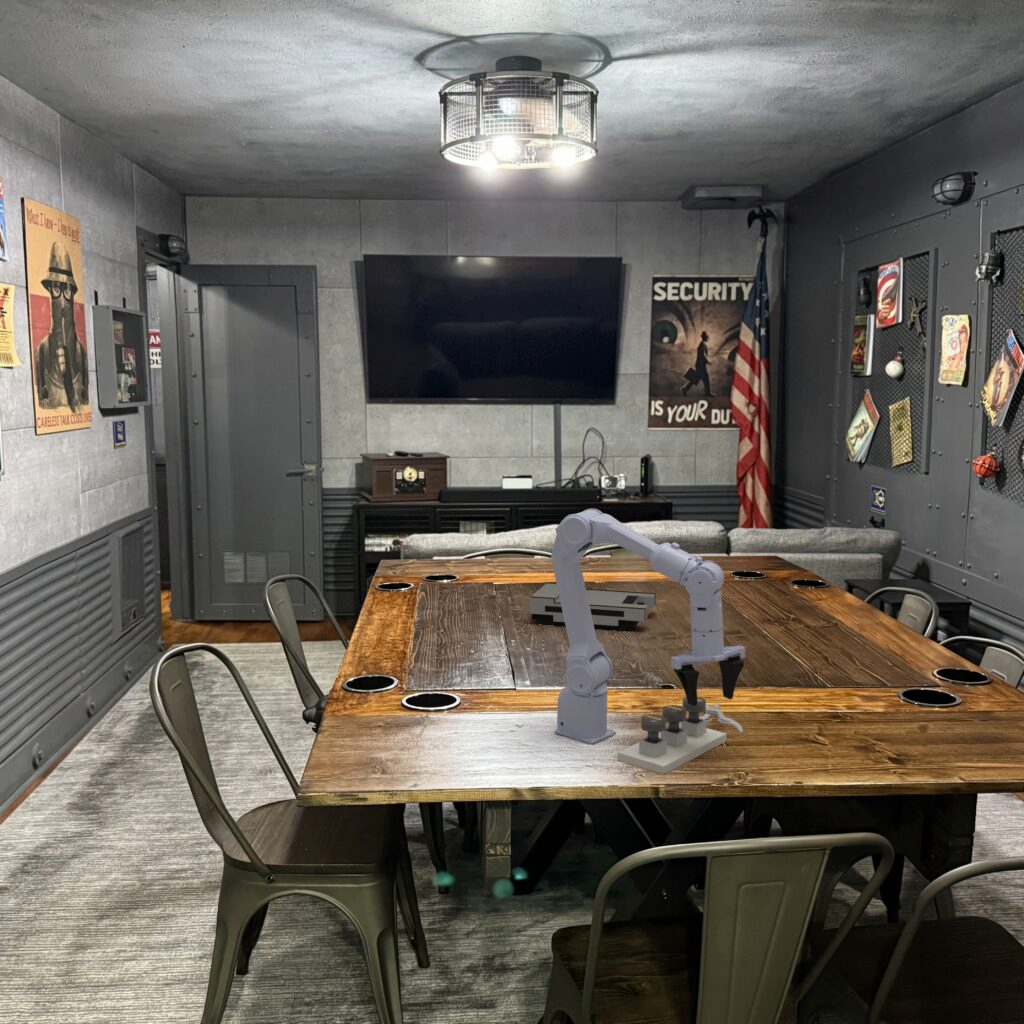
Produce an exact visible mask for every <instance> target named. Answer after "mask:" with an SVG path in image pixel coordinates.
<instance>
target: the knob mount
mask: <svg viewBox="0 0 1024 1024" xmlns="http://www.w3.org/2000/svg"><path fill="white" fill-rule="evenodd" d="M688 717H689V716H686V720H685V721H683V722H680V725H679V732H670V731H669V725H668V726H667V727H666V729H665V730H664V731H661V732H659V741H658V742H655V743H653V742H649V741H648V735H647V736H645V737H643V738H641V739H639V742H637V743H635V744H633V745H631V746H629V747H626V748H624V749H621V750H620V751H618V752H617V762H618V761H619V762H622V763H625V764H629V765H630V766H636V767H638V768H641V769H644V770H648V771H651V772H654V773H658V774H661V775H665V774H667V773H669V772H671V771H673V770H676V769H678V767H680V766H681V767H682V766H683V765H685V764H686V763H688V762H690V761H691V760H694V759H695V758H698V757H699V756H702V755H703V754H705V753H707V752H708V751H710V750H712V749H714V748H716V747H718V746H720V745H721V744H724V743H726V742H727V737H728V734H727V733H726V732H724V731H718V730H716V729H715V730H714V729H711V728H709V727H707V725H708V723H707V721H708V720H704V719H700V718H699V722H697V723H692V722H689V721H688Z"/></svg>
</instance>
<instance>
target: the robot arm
mask: <svg viewBox="0 0 1024 1024" xmlns="http://www.w3.org/2000/svg"><path fill="white" fill-rule="evenodd" d="M555 532H556V536H555V539H554V543H553V546H552V551H551V554H550V556H551V557H550V558H551V565H552V568H553V573H554V577H555V583H557V588H558V593H559V597H560V602H561V607H562V611H563V616H564V621H565V625H566V627H565V629H566V634H567V639H568V644H569V646H568V650H567V654H566V657H565V662H566V671H565V682H566V686H564V687H563V688H562V689H561V690H560V692H559V695H558V698H557V703H556V707H557V712H556V714H557V716H556V717H557V718H556V719H557V720H556V723H557V724H556V726H557V727H556V729H555V730H554V733H555V734H558V735H561V736H565V737H568V738H570V739H571V738H572V739H575V740H578V741H581V742H583V743H584V742H585V743H587V744H593V745H594V744H596V743H598V742H600V741H603V740H605V739H607V738H609V737H612V736H613V735H616V734H617V731H616V730H614V729H610V728H608V685H607V681H608V680H610V678H611V676H612V674H613V663H612V661H611V659H610V658H609V657H608V655H607V654H606V652H605V649H604V645H603V643H601V641H600V640H599V639H597V635H596V629H594V625H593V620H592V615H591V610H590V606H589V601H588V596H587V592H586V589H587V588H586V582H585V578H584V575H583V569H582V564H581V559H583V557H584V555H585V554H586V553H587V551H588V550H589V549H590V547H591V546H593V545H596V544H605V543H606V544H607V543H612V544H614V545H617V546H618V547H621V548H622V549H625V550H627V551H629V552H631V553H634V554H635V555H637V556H639V557H641V558H644V559H646V560H649V563H650V565H651V568H652V570H653V571H655V572H657V573H659V574H661V575H662V576H664V577H665V578H668V579H670V580H671V581H674V582H675V583H677V584H680V585H681V586H684V588H685V591H687V593H688V595H689V598H690V603H689V604H690V605H689V606H690V626H691V628H690V629H691V646H692V647H691V648H692V650H691V651H688V652H684V653H682V654H678V655H674V656H671V657H670V663H671V668H673V671H674V672H675V674H676V676H677V677H678V679H679V681H680V683H681V685H682V686H681V687H682V688H683V691H684V694H685V697H687V701H688V704H690V705H692V706H697V697H698V679H699V675H700V672H699V671H698V670H696V669H695V667H693V666H697V665H698V666H699V665H705V664H710V663H714V662H715V663H716V662H718V664H719V670H720V673H721V683H722V688H721V689H722V695H723V697H724V698H726V699H728V700H732V699H734V694H735V693H734V692H735V688H736V684H737V681H738V678H739V677H740V673H741V672H742V670H743V668H744V666H745V662H744V660H742V659H745V658H746V647H745V646H742V645H735V646H734V645H732V646H724V643H725V641H724V622H723V621H724V620H723V619H724V615H723V603H722V590H721V587H722V586H723V584H724V583H725V572H724V570H723V568H722V567H721V566H720V565H719V564H717V563H716V562H715V561H714V560H704V561H703V557H702V556H700V555H697V556H694V555H692V554H690V553H689V552H687V551H685V550H683V549H681V548H680V546H681V545H680V544H678V543H677V542H672V543H669V542H667V541H666V542H663V543H661V544H658V543H656V542H654V541H653V540H651V539H649V538H648V537H646V536H644V535H642V534H641V533H639V531H635V529H632V528H631V527H630V526H627V525H626V524H624V523H623V522H621V521H619V520H618V519H616V518H615V517H613V516H612V515H610V514H608V513H604V512H602V511H601V510H599V509H596V508H587V509H585V510H583V511H581V512H578V513H572V514H568V515H566V516H565V517H564V518H563V519H562V520H561V521H560V523H559V524H558V525H557V527H556V528H555Z"/></svg>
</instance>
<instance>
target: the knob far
mask: <svg viewBox="0 0 1024 1024" xmlns="http://www.w3.org/2000/svg"><path fill="white" fill-rule="evenodd" d="M706 704H707V700H706V699H705V698H704V697H701V696H697V706H692V705H690V704H688V701H687V697H686V696H685V697H683V698H682V707H685V708H686V713H687V712H688V716H687V717H688V721H689V722H692V723H697V722H699V717H700V714H701V713H704V711H705V710H706Z"/></svg>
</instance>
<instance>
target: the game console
mask: <svg viewBox="0 0 1024 1024" xmlns="http://www.w3.org/2000/svg"><path fill="white" fill-rule="evenodd" d="M586 592H587V596H588V601H589V606H590V610H591V615H592V620H593V625H594V629H595V630H597V629H602V631H611V630H616V631H615V632H624V631H626V632H628V630H629V629H630V628H631V627H632V628H637V625H639V623H640V622H645V621H646V620H647V618H648V610H649V609H654V608H655V606H656V603H657V602H656V601H657V600H656V597H657V594H656V592H645V591H644V592H642V591H626V590H611V589H599V588H598V589H597V588H596V589H595V588H593V589H592V588H586ZM529 614H531V620H533V621H534V620H535V621H537V625H538V624H542V625H541V626H543V625H554V626H553V627H557V626H566V625H565V621H564V616H563V611H562V607H561V602H560V597H559V593H558V588H557V583H556V582H550V581H548V582H547V583H545V584H544V585H543V586H542V587H540V588H539V589H538V590H537V591H535V592H534V593H533V594H532V595H530V597H529ZM628 628H629V629H628Z"/></svg>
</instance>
